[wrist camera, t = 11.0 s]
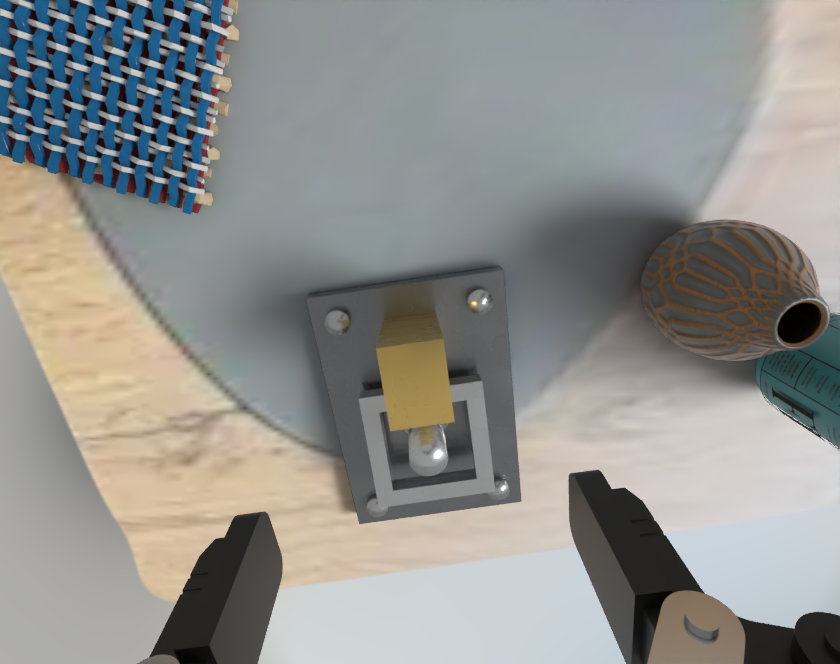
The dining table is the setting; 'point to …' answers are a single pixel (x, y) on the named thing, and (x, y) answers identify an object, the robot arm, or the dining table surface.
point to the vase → (733, 291)
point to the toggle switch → (465, 355)
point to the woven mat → (116, 91)
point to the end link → (422, 411)
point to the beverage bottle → (807, 383)
